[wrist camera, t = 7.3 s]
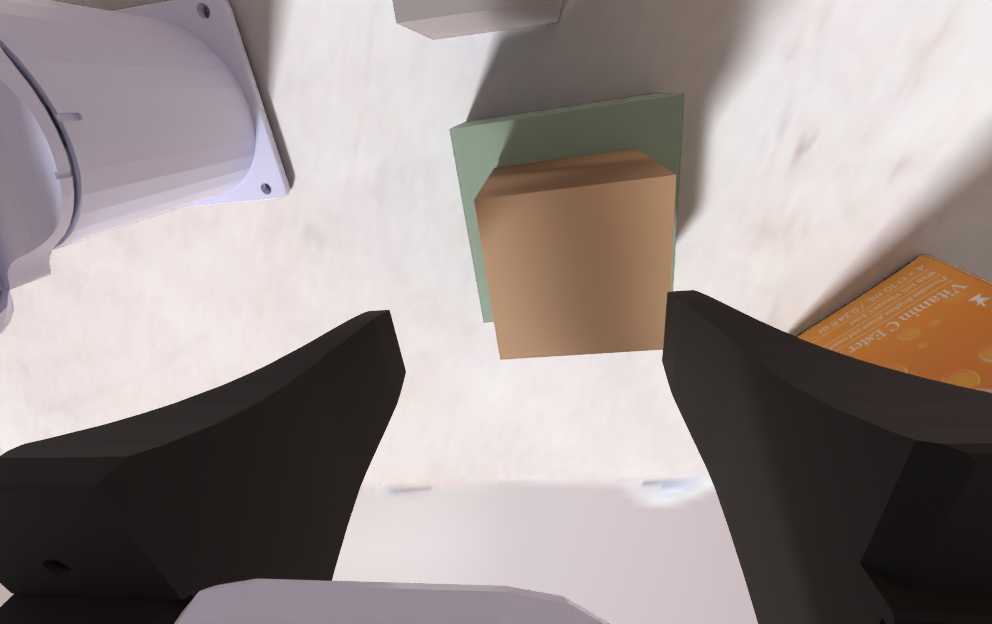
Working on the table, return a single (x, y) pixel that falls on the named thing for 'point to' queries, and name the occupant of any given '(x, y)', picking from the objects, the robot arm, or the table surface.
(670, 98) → the green block
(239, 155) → the robot arm
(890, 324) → the small box
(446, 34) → the grey cube
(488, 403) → the table surface
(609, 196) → the walnut cube
